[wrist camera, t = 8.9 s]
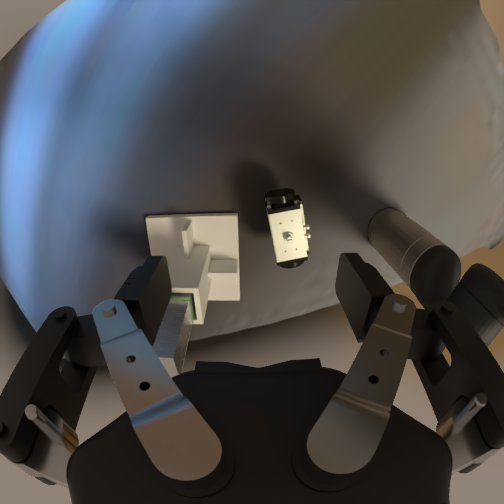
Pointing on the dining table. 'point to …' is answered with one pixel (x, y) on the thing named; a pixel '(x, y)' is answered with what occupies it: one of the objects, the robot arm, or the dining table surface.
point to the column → (175, 332)
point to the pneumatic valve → (287, 227)
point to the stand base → (199, 255)
